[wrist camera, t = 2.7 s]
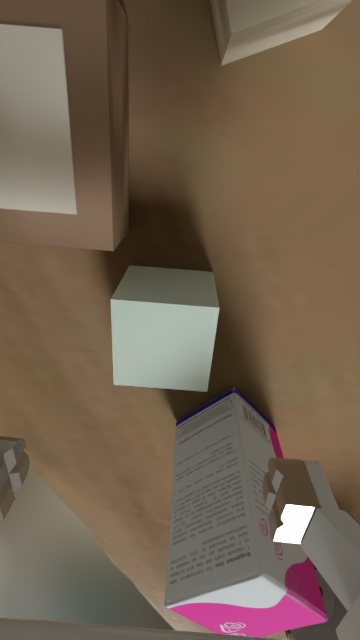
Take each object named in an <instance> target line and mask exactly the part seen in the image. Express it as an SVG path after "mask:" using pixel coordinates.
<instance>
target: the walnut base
mask: <svg viewBox="0 0 360 640" xmlns="http://www.w3.org/2000/svg"><path fill="white" fill-rule="evenodd" d="M128 232H129V126H128V18H127V16H126V14H125V12H124V10H123V8H122V6H121V4H120V2H119V0H0V242H4V243H17V244H30V245H42V246H55V247H67V248H80V249H93V250H105V251H114V250H115V249H116V247H117V246H118V245H119V244H120V242H121V241H122V240H123V239H124V237H125V236H126V235H127V234H128Z"/></svg>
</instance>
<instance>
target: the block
mask: <svg viewBox="0 0 360 640" xmlns="http://www.w3.org/2000/svg"><path fill="white" fill-rule="evenodd" d="M351 1H352V0H209V2H210V8H211V13H212V19H213V24H214V30H215V36H216V41H217V47H218V52H219V58H220V63H221V66H222V65H225V64H228V63H231V62H233V61H236V60H239V59H242V58H244V57H247V56H250V55H253V54H255V53H258V52H261V51H264V50H266V49H269V48H272V47H275V46H277V45H280V44H283V43H286V42H288V41H291V40H294V39H297V38H299V37H302V36H305V35H308V34H310V33H313V32H316V31H319V30H321V29H323V28H324V27H325V26H326V25H327V24H328V23H329V22H330V21H331V20H332V19H333V18H334V17H335V16H336V15H337V14H338V13H340V12H341V11H342V10H343V9H344V8H345V7H346V6H347V5H348V4H349V3H350V2H351Z"/></svg>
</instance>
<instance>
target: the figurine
mask: <svg viewBox="0 0 360 640" xmlns="http://www.w3.org/2000/svg"><path fill="white" fill-rule="evenodd" d="M313 566H314V570H315V573H316V577H317V581H318V584H319V588H320V591H321V595H322V599H323V602H324V606H325V609H326V613H327V618H328V620H327V621H326V622H323V623H319V624H314V625H309V626H304V627H300V628H295V629H291V630H286V631H285V632H286V636H287V638H290V640H338V636H337V633H336V628H337V627H338V625H339V623H340V622H341V620H342V619H343V617H344V616H345V614H346V613H347V610H346V608H345V607H344V605H343V604H342V603H341V601H340V600H339V599H338V597H337V596H336V594H335V593H334V592H333V590H332V589H331V588H330V586H329V585H328V583H327V582H326V581H325V579H324V578H323V576H322V575H321V574H320V572H319V571H318V570H317V568H316V567H315V565H314V564H313Z"/></svg>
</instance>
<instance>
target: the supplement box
mask: <svg viewBox="0 0 360 640" xmlns="http://www.w3.org/2000/svg"><path fill="white" fill-rule="evenodd" d="M270 458H283V454H282V451H281V447H280V444H279V440H278V437H277V432H276V429H275V428H274V426H273V425H272V424H271V423H270V422H269V421H268V420H267V419H266V418H265V417H264V416H263V415H262V414H261V413H260V412H259V411H258V410H257V409H256V408H255V407H254V406H253V405H252V404H251V403H250V402H249V401H248V400H247V399H246V398H245V397H244V396H243V395H242V394H241V393H240V392H239V391H238V390H237V389H236V388H235V387H233V388H231V389H229V390H227V391H226V392H224V393H222V394H221V395H219V396H218V397H216V398H214V399H213V400H211V401H210V402H208V403H206V404H205V405H203V406H201V407H200V408H198V409H196V410H194V411H193V412H191V413H189V414H188V415H186V416H184V417H183V418H181V419H179V420H178V421H177V423H176V437H175V453H174V469H173V483H172V500H171V515H170V530H169V545H168V561H167V577H166V591H165V607H167V608H168V609H171V610H173V611H174V612H176V613H178V614H180V615H182V616H184V617H186V618H188V619H190V620H192V621H194V622H196V623H198V624H199V625H201V626H203V627H205V628H207V629H209V630H211V631H213V632H215V633H217V634H227V635H239V636H252V637H262V636H266V635H269V634H273V633H277V632H281V631H286V630H291V629H295V628H300V627H304V626H309V625H314V624H319V623H323V622H326V621H327V620H328V618H327V613H326V609H325V606H324V602H323V599H322V595H321V591H320V588H319V584H318V581H317V577H316V573H315V570H314V566H313V563H312V561H311V560H310V559H309V557H308V556H307V554H306V553H305V552H304V550H303V549H302V547H301V546H300V545H301V544H294V543H284V542H275V541H273V539H272V534H271V530H270V525H269V521H268V518H269V515H270V510H269V509H268V508H267V506H266V505H265V502H264V496H263V480H264V476H265V474H266V473H267V472H269V469H268V462H269V459H270Z"/></svg>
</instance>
